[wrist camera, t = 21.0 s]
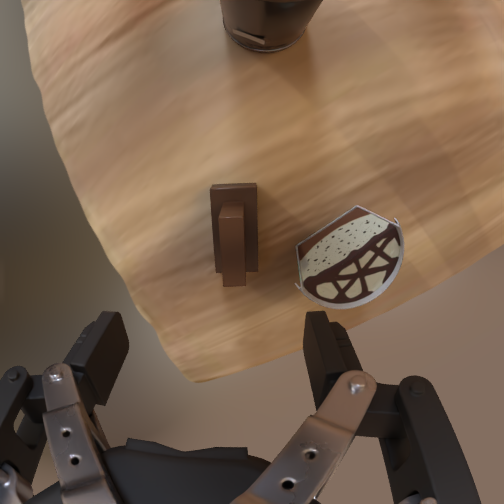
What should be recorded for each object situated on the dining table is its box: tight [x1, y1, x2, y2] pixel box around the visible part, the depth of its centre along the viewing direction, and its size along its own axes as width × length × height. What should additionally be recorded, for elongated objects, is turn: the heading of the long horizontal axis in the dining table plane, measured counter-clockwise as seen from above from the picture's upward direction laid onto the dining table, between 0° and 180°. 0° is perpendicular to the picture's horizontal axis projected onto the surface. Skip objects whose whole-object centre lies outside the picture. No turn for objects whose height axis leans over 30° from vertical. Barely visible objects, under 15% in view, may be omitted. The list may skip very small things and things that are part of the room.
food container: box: [294, 205, 404, 309], centre depth 32 cm, size 12×6×10 cm, turn 125°
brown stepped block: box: [210, 183, 258, 287], centre depth 31 cm, size 10×5×9 cm, turn 1°
